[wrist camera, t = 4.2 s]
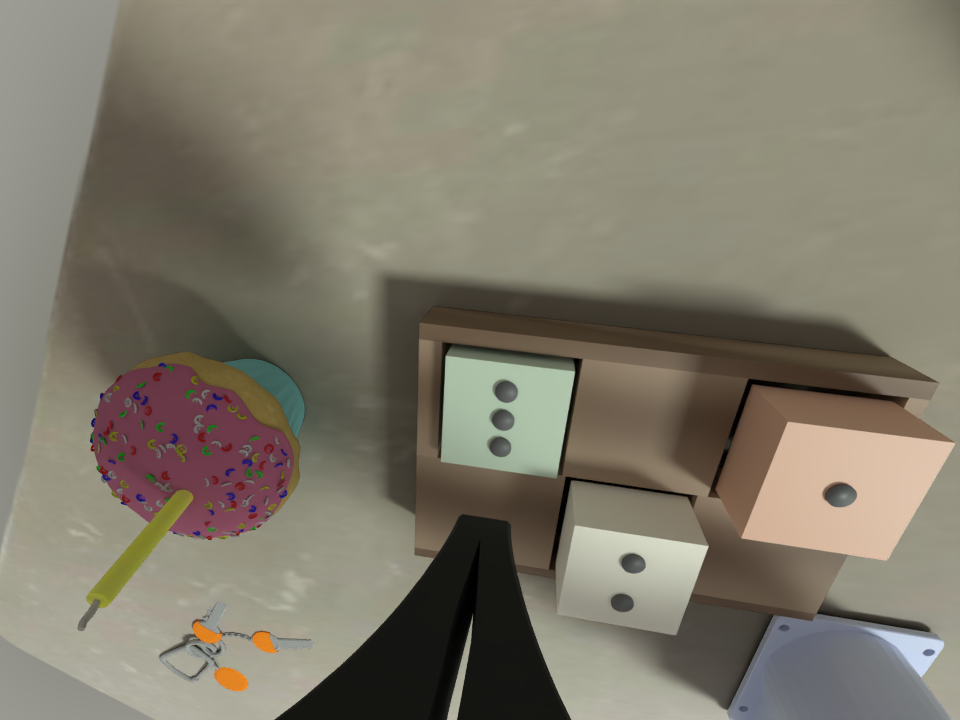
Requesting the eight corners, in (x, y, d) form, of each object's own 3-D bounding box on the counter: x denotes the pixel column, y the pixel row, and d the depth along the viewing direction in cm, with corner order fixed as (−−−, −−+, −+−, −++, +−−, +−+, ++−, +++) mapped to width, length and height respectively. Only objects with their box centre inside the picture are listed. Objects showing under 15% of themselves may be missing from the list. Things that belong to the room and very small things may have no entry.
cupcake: (352, 356, 22) (151, 546, 11) (327, 489, 25) (156, 736, 14) (183, 301, 22) (-187, 433, 11) (182, 441, 25) (-100, 649, 14)
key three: (555, 442, 22) (556, 480, 19) (453, 428, 22) (440, 463, 19) (571, 345, 20) (575, 373, 17) (458, 332, 20) (445, 357, 17)
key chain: (225, 701, 36) (218, 713, 35) (150, 646, 34) (141, 657, 33) (324, 644, 31) (318, 656, 30) (242, 578, 30) (234, 589, 29)
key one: (840, 507, 19) (889, 563, 16) (715, 489, 19) (742, 540, 16) (893, 401, 17) (958, 445, 14) (752, 384, 17) (789, 423, 14)
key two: (660, 580, 21) (676, 638, 19) (555, 562, 22) (556, 617, 19) (687, 496, 19) (709, 548, 17) (571, 479, 20) (575, 527, 17)
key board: (786, 578, 23) (812, 621, 21) (426, 521, 25) (414, 554, 23) (892, 357, 18) (939, 383, 16) (433, 306, 20) (419, 322, 18)
